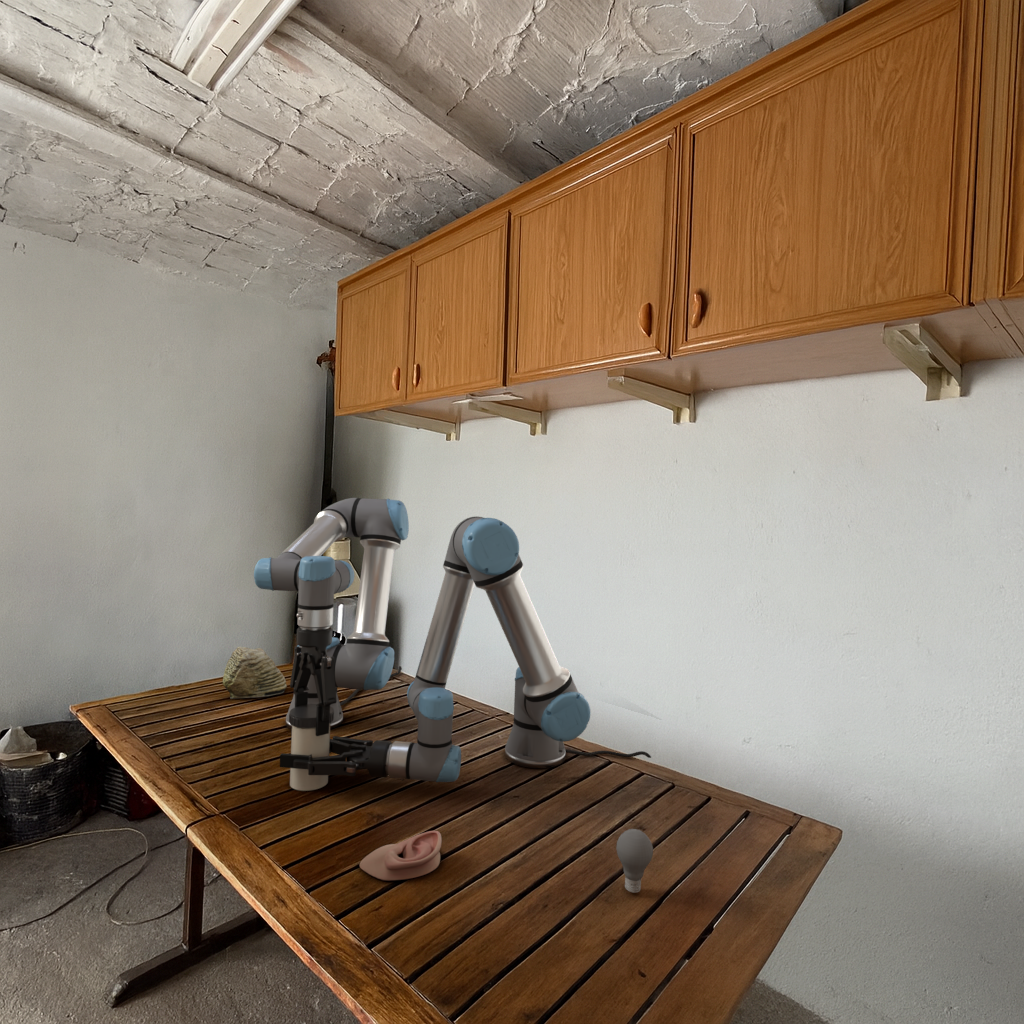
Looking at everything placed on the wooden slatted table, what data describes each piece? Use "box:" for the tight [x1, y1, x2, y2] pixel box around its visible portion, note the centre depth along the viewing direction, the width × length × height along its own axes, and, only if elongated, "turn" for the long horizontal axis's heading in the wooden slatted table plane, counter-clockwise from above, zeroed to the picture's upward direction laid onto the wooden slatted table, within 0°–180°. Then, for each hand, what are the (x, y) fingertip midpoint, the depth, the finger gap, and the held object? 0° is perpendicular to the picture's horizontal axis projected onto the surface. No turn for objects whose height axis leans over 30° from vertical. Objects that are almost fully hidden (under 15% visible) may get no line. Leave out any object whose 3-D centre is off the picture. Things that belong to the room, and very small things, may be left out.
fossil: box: [222, 646, 288, 699], centre depth 198 cm, size 9×18×15 cm, turn 132°
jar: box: [289, 723, 331, 792], centre depth 140 cm, size 8×8×15 cm
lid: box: [289, 704, 334, 728], centre depth 140 cm, size 9×9×2 cm
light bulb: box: [615, 828, 654, 894], centre depth 106 cm, size 6×6×10 cm
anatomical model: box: [359, 830, 443, 882], centre depth 111 cm, size 13×4×12 cm
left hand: (311, 727), depth 140 cm, fingers closed on lid, 9 cm apart
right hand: (289, 752), depth 140 cm, fingers closed on jar, 8 cm apart
